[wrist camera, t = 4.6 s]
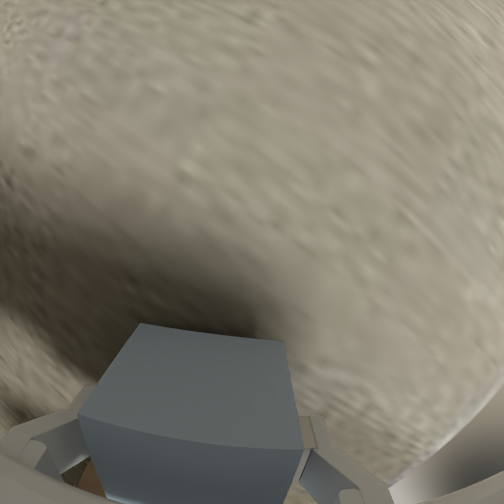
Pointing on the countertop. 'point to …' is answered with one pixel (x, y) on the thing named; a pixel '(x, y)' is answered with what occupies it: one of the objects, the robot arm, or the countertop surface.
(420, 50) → the countertop surface
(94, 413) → the slate cube
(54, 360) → the countertop surface
